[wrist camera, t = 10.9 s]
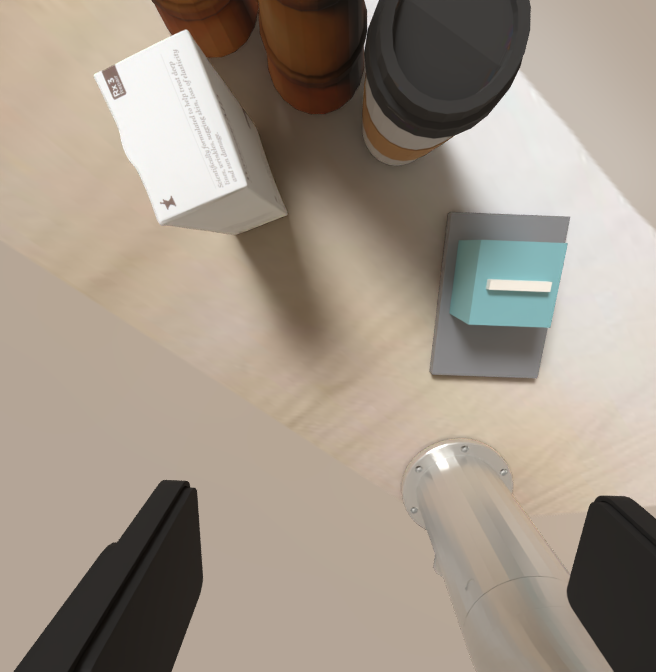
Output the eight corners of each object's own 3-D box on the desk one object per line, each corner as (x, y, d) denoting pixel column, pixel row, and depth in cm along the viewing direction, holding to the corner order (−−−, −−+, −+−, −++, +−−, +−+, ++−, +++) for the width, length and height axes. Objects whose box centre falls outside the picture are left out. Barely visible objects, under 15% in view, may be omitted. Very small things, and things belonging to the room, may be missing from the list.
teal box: (532, 243, 33) (572, 243, 27) (519, 316, 35) (554, 329, 29) (458, 240, 33) (484, 239, 27) (449, 313, 35) (471, 326, 29)
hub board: (531, 374, 37) (560, 393, 33) (429, 370, 37) (443, 389, 33) (563, 217, 33) (601, 213, 29) (448, 213, 33) (467, 208, 28)
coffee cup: (409, 196, 33) (472, 158, 18) (333, 146, 32) (336, 65, 17) (462, 109, 31) (579, -9, 16) (383, 54, 30) (433, -125, 15)
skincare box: (289, 215, 33) (258, 193, 19) (231, 237, 34) (159, 232, 19) (254, 122, 31) (191, 19, 17) (194, 148, 32) (82, 69, 17)
